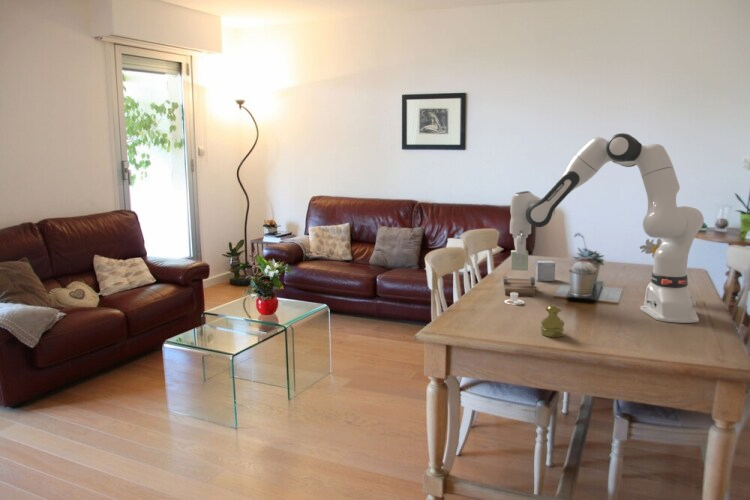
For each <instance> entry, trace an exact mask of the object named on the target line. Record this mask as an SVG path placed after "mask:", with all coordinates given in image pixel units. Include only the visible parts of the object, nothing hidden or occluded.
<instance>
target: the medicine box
mask: <svg viewBox="0 0 750 500" xmlns="http://www.w3.org/2000/svg"><path fill="white" fill-rule="evenodd" d="M535 264H536V265H535V281H536V282H554V281H555V279H556V278H555V277H556V263H555V262H554V261H553V260H536V263H535Z"/></svg>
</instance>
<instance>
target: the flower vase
mask: <svg viewBox="0 0 750 500" xmlns="http://www.w3.org/2000/svg"><path fill="white" fill-rule="evenodd" d="M654 241H655V238H653V239H651V241H650V239H649V238H646V241H645V244H644V245H643V244H642V245H641V246H639V249H640V250H641V254H642V253H644V252H645V254H646V255H651V257H652V258H653V259H654V254H655V251H656V250H657V249H658V248H659V246H660V245H661V243H662V241H663V240H662V239H659V238H657V240H656V243H654ZM651 283H652V282H651V281H650V282H649V283H648V285H647V286H646V288H647V287H649V286H650V285H651Z"/></svg>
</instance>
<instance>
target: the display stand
mask: <svg viewBox="0 0 750 500" xmlns="http://www.w3.org/2000/svg"><path fill="white" fill-rule="evenodd" d="M502 278H503V279H502V280H503V281H502V282H503V288H504V295H505V296H510V293H512V292H516V293H518V297H519V296H520V297H523V296H524V297H535V296H536V288H535V285H536V277H535V276H530V278H508V276H507V275H504V276H503V277H502Z"/></svg>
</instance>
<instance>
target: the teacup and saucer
mask: <svg viewBox="0 0 750 500" xmlns="http://www.w3.org/2000/svg"><path fill="white" fill-rule="evenodd" d="M509 297H510V298H508V299H505V300H504V303H505V304H508V305H512V306H513V305H515V306H519V305H523V304H525V301H524V300H522V299H519V296H518V293H516V292H512V293H510V295H509ZM509 301H510V302H511V303H509Z"/></svg>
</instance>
